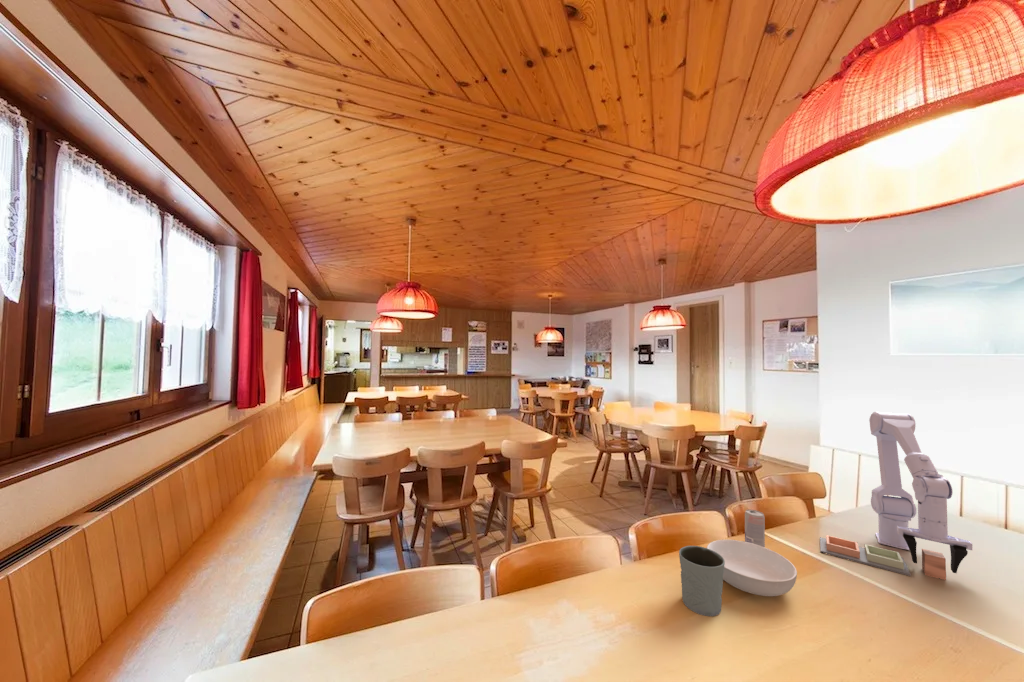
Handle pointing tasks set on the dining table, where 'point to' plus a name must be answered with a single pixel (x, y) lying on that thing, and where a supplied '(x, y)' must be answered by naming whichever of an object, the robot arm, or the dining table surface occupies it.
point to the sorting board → (864, 554)
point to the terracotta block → (933, 564)
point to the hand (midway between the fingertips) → (933, 566)
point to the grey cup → (702, 579)
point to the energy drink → (755, 527)
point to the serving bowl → (755, 568)
